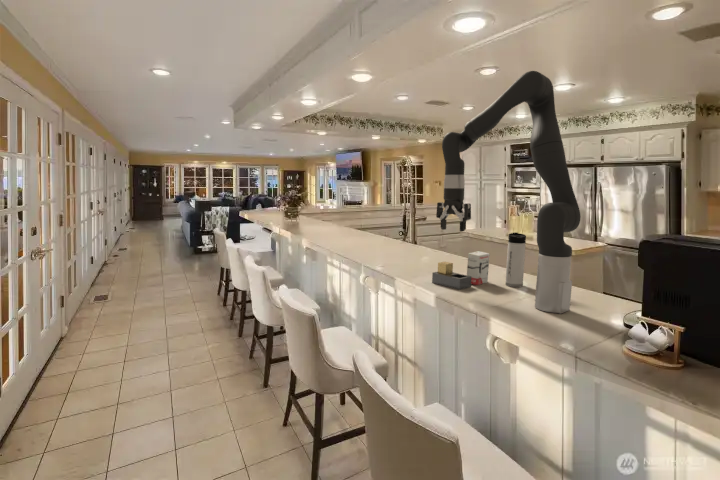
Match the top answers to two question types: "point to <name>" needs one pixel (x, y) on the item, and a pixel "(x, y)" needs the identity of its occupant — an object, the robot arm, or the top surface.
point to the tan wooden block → (445, 268)
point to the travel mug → (515, 260)
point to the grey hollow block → (452, 280)
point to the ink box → (478, 267)
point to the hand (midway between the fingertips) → (452, 230)
